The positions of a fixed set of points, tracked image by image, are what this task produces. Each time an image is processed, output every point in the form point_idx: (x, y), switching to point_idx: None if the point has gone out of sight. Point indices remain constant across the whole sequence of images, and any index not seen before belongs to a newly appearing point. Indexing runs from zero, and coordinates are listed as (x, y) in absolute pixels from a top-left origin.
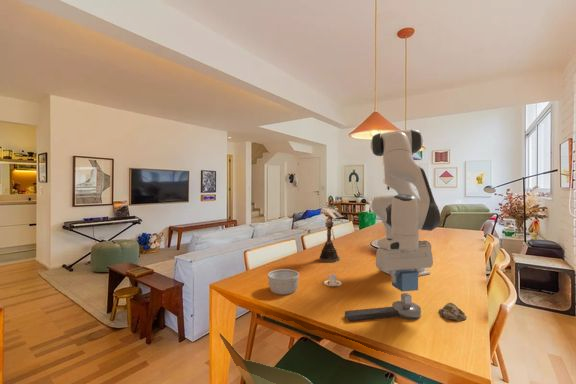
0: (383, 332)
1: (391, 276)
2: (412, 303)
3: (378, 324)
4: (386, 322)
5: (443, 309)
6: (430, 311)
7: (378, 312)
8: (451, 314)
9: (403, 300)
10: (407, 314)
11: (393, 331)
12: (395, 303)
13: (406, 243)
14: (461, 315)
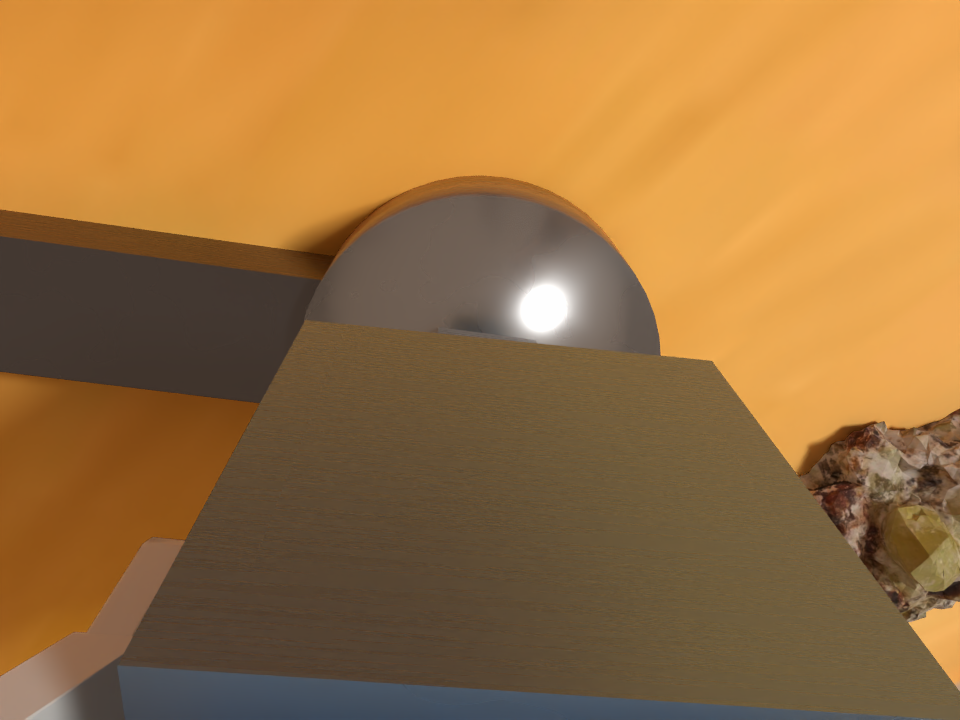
0: (4, 558)
1: (62, 655)
2: (631, 336)
3: (14, 439)
4: (122, 432)
5: (878, 495)
6: (780, 390)
7: (36, 361)
8: None
9: None
10: None
11: (108, 569)
12: (397, 258)
13: None
14: (911, 607)
